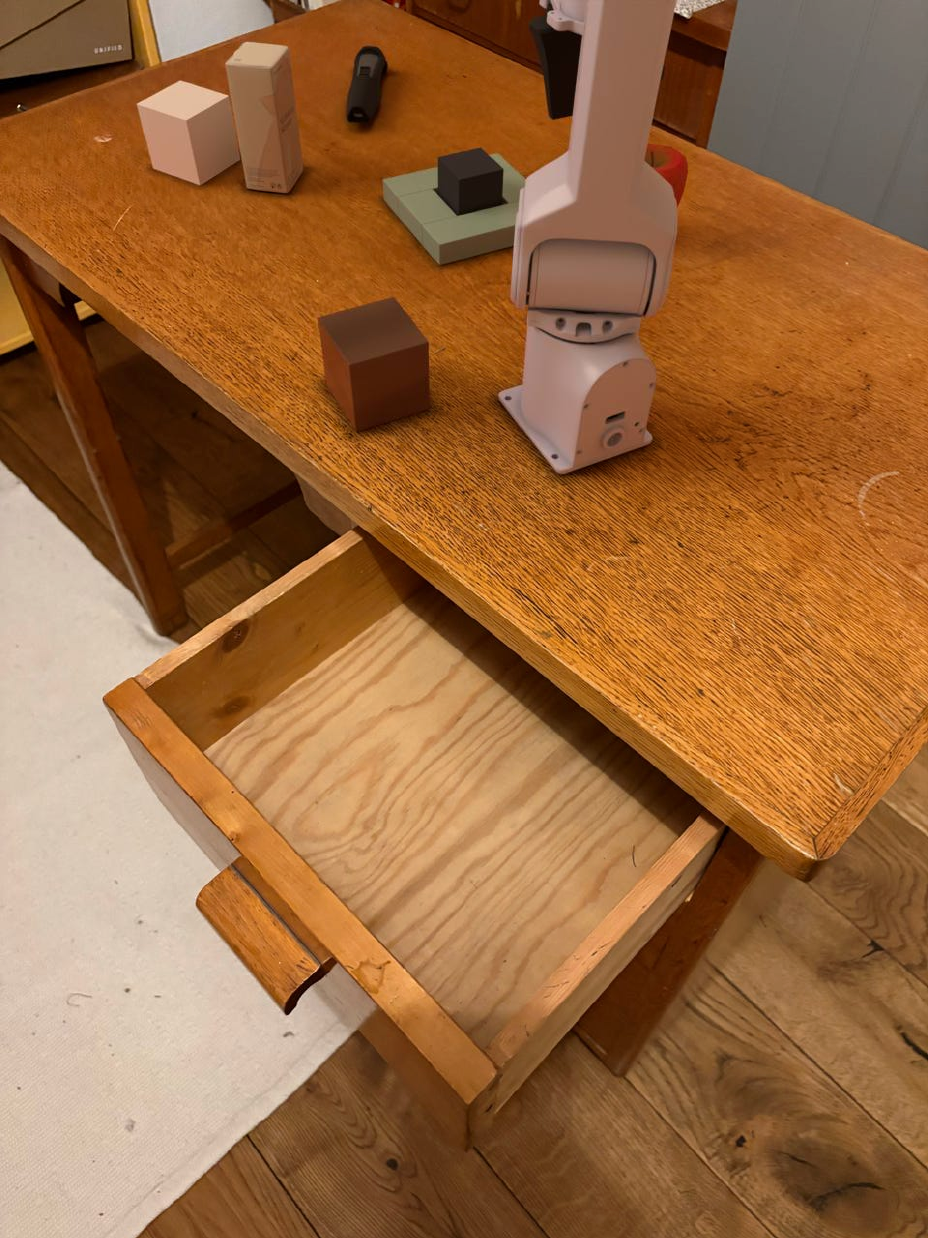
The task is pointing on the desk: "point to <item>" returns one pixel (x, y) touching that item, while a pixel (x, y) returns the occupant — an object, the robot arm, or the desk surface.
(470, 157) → the black block
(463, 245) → the square frame
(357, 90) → the electric trimmer
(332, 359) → the cube
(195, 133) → the pale pink cube
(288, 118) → the box
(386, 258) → the desk surface
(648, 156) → the apple
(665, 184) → the robot arm
